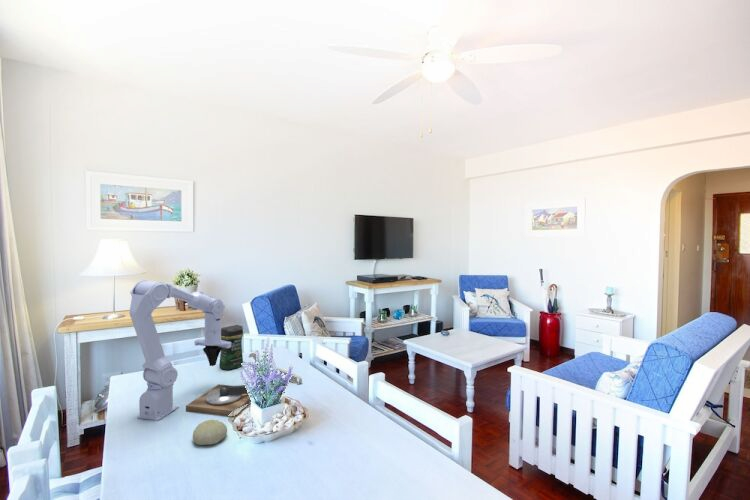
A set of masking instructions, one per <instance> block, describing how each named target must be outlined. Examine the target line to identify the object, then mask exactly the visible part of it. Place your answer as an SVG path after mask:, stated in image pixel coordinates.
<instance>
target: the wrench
mask: <svg viewBox="0 0 750 500" xmlns="http://www.w3.org/2000/svg"><path fill="white" fill-rule="evenodd" d="M256 353H258V352H257V351H254V352H251V353H249V355H248V358H253V360H254V363H256ZM259 355H260V357H262V355H261V354H260V353H259ZM275 366H276V367H277V368H278V370H279V371H280V372H283V373H284V375H286V374H287V372H288V370H287V369H284V368H281V367H279V366H277V365H275ZM291 373H292V377H291V379H290V381H289V382H291V383H292V384H295V385H300V384H302V382H303V378H302V377H301V376H300V375H298V374H296V373H293V372H291Z"/></svg>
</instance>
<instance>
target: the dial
mask: <svg viewBox="0 0 750 500" xmlns="http://www.w3.org/2000/svg"><path fill="white" fill-rule="evenodd" d="M245 385H246V384H244V385H243V384H241V385H230V386H222V387H220V389H217V390H214V391H212V392H210V393H208V394H207V395H206V402H207V403H208V404H211V405H225V404H230V403H233V402H236V401H238V400H239V399H240V398H241V397H242V394H248V393H247V390H246V388H245Z"/></svg>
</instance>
